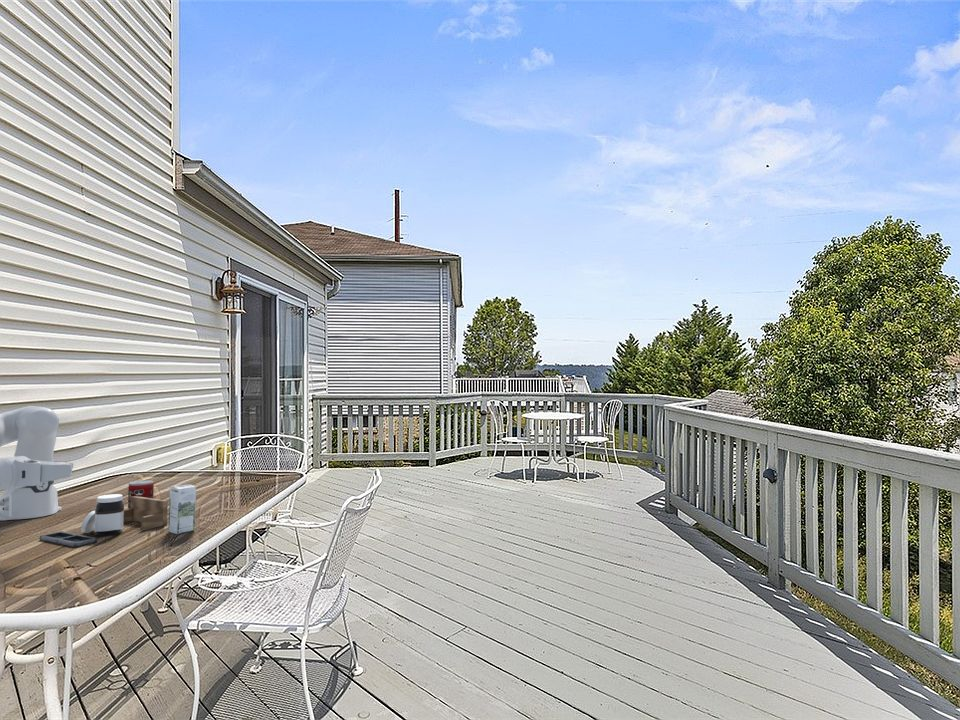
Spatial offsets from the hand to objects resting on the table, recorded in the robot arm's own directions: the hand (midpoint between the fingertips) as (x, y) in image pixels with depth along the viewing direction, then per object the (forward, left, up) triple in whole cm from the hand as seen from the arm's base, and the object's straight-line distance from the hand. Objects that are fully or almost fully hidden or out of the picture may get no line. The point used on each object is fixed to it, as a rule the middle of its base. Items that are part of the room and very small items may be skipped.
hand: (70, 465), depth 169 cm
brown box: (0, +22, -23) cm, 32 cm away
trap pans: (0, 0, -23) cm, 23 cm away
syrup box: (+21, +22, -23) cm, 38 cm away
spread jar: (0, +10, -23) cm, 25 cm away
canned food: (-17, +34, -23) cm, 45 cm away
